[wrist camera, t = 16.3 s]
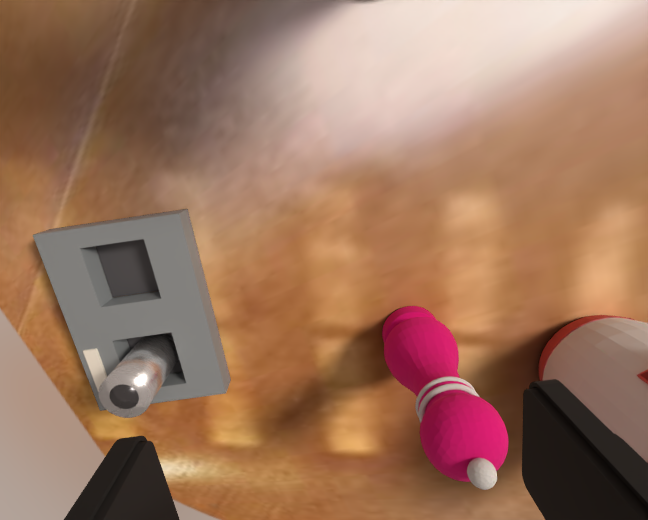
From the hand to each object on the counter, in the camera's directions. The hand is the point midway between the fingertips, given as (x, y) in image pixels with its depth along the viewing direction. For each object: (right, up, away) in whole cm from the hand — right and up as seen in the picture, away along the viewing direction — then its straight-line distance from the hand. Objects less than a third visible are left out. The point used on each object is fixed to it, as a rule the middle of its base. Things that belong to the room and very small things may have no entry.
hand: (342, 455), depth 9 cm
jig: (-20, -1, +31) cm, 37 cm away
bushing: (-19, -5, +33) cm, 38 cm away
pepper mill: (+9, -3, +33) cm, 34 cm away
